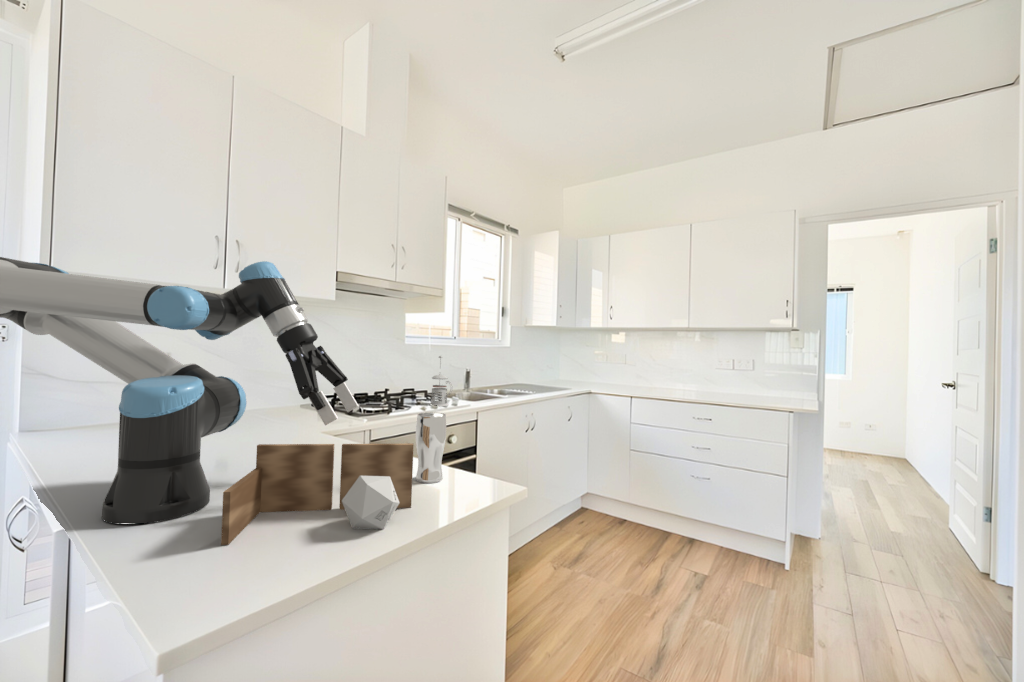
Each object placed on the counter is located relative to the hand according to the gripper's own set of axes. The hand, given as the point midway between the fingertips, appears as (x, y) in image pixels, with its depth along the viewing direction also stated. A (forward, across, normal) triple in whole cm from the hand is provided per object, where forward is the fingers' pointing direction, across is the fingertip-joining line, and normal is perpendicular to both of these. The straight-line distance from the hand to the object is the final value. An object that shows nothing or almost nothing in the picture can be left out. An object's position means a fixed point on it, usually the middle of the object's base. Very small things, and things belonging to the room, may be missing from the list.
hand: (343, 415), depth 96 cm
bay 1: (+11, -22, +10) cm, 26 cm away
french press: (+21, +128, +6) cm, 129 cm away
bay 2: (+18, -13, -2) cm, 22 cm away
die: (+19, -21, -3) cm, 28 cm away
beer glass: (+23, +5, -7) cm, 25 cm away
